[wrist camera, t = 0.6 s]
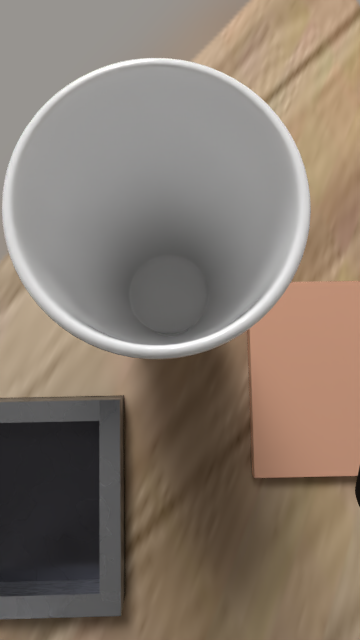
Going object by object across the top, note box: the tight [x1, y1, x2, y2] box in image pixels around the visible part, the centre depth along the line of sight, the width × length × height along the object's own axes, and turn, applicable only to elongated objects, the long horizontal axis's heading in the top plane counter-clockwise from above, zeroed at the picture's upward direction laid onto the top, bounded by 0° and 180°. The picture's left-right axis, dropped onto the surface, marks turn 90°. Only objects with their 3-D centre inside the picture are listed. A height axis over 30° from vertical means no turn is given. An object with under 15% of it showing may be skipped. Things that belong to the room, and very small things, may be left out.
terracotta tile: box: [247, 281, 360, 478], centre depth 21 cm, size 12×10×1 cm
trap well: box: [0, 396, 125, 619], centre depth 20 cm, size 12×10×2 cm
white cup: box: [2, 58, 311, 359], centre depth 15 cm, size 7×7×15 cm
